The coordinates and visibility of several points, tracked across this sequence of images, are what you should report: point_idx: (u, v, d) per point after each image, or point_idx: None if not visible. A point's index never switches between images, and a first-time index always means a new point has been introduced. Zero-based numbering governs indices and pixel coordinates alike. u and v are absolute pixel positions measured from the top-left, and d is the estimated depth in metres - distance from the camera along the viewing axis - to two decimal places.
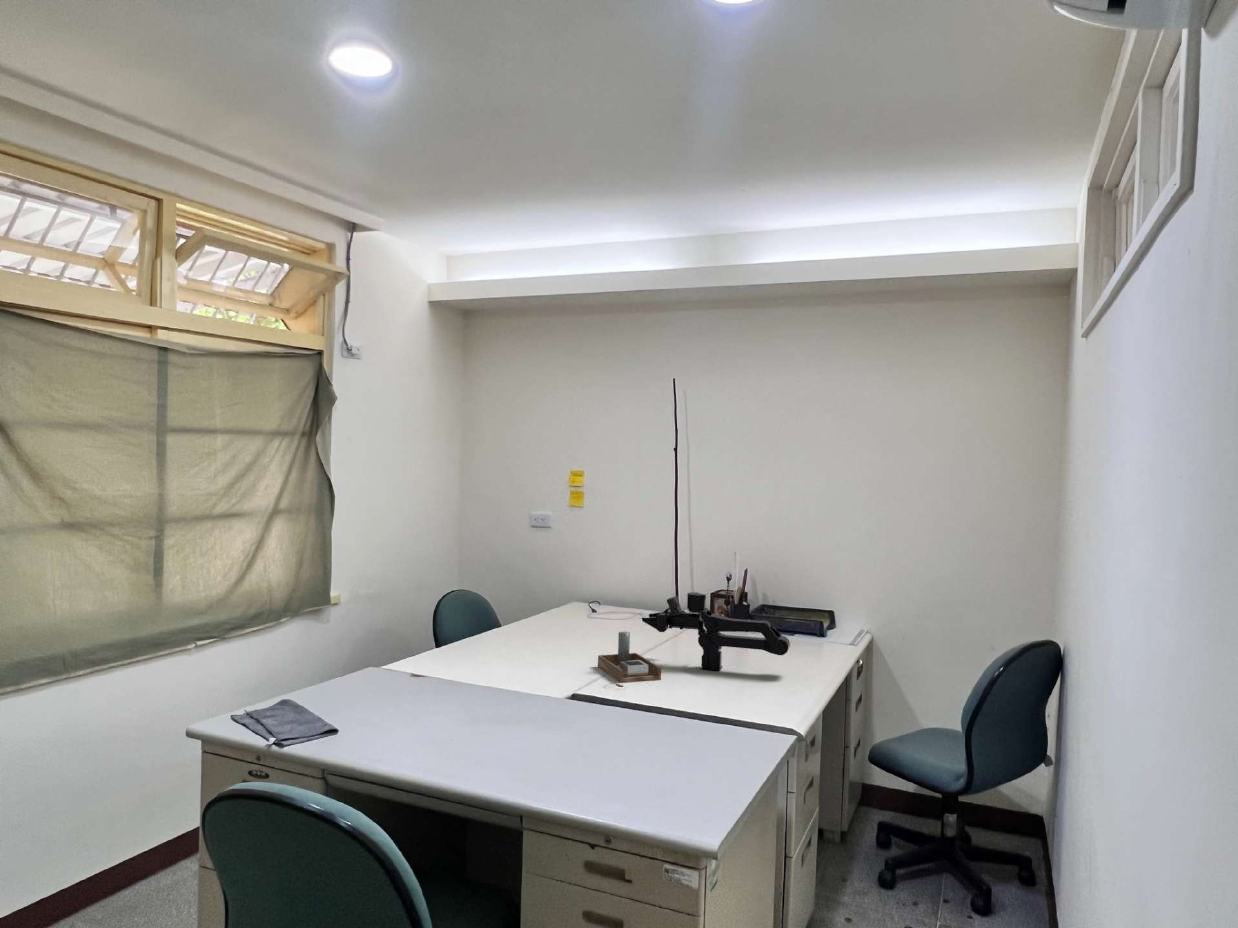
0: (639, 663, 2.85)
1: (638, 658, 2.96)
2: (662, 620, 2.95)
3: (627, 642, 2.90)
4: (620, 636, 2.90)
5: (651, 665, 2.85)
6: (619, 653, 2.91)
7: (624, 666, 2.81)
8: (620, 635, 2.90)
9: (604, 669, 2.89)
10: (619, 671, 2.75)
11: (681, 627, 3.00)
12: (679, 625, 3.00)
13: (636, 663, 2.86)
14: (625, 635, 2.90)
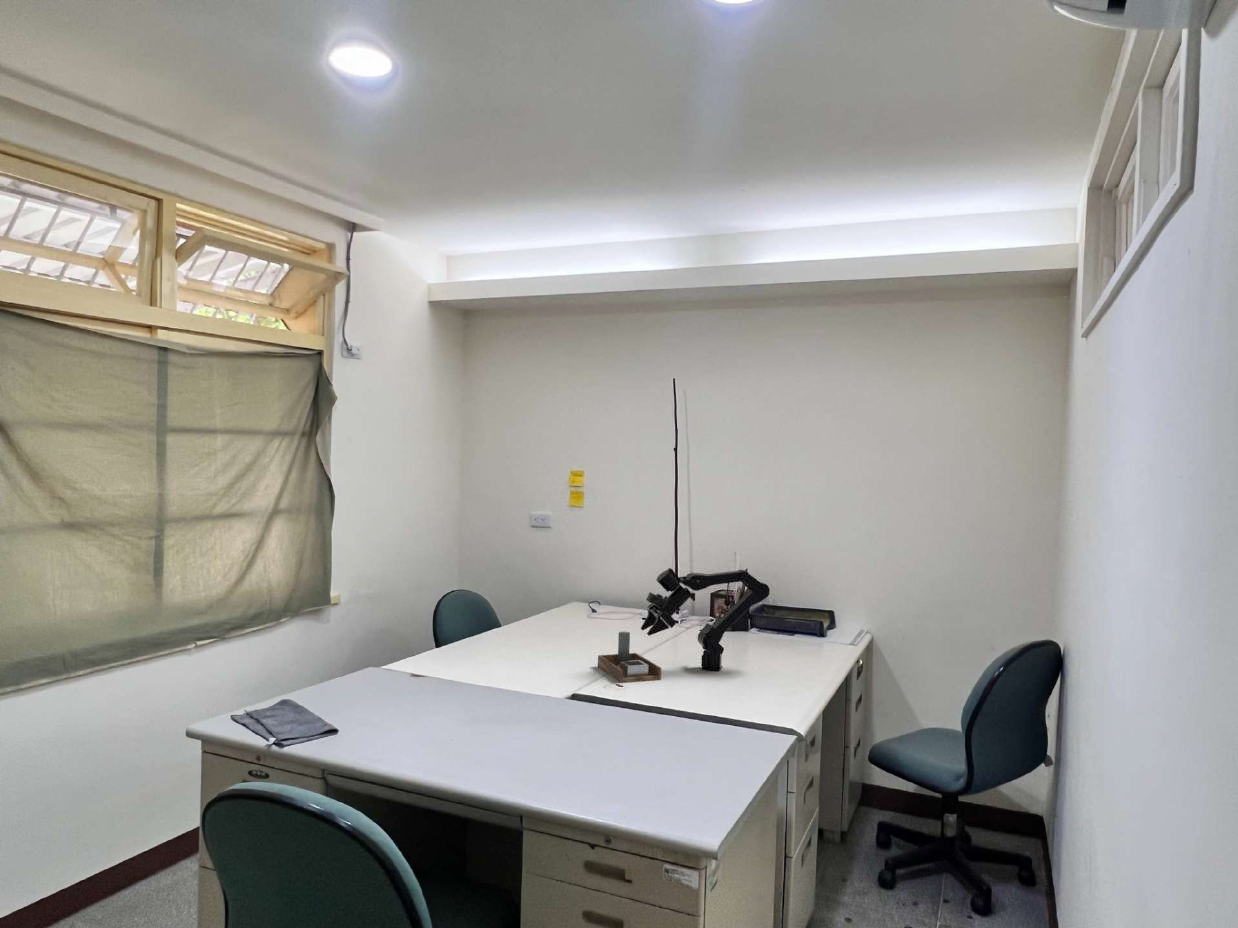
0: (639, 663, 2.85)
1: (638, 658, 2.96)
2: (667, 617, 2.86)
3: (627, 642, 2.90)
4: (620, 636, 2.90)
5: (651, 665, 2.85)
6: (619, 653, 2.91)
7: (624, 666, 2.81)
8: (620, 635, 2.90)
9: (604, 669, 2.89)
10: (619, 671, 2.75)
11: (678, 608, 2.94)
12: (675, 609, 2.94)
13: (636, 663, 2.86)
14: (625, 635, 2.90)
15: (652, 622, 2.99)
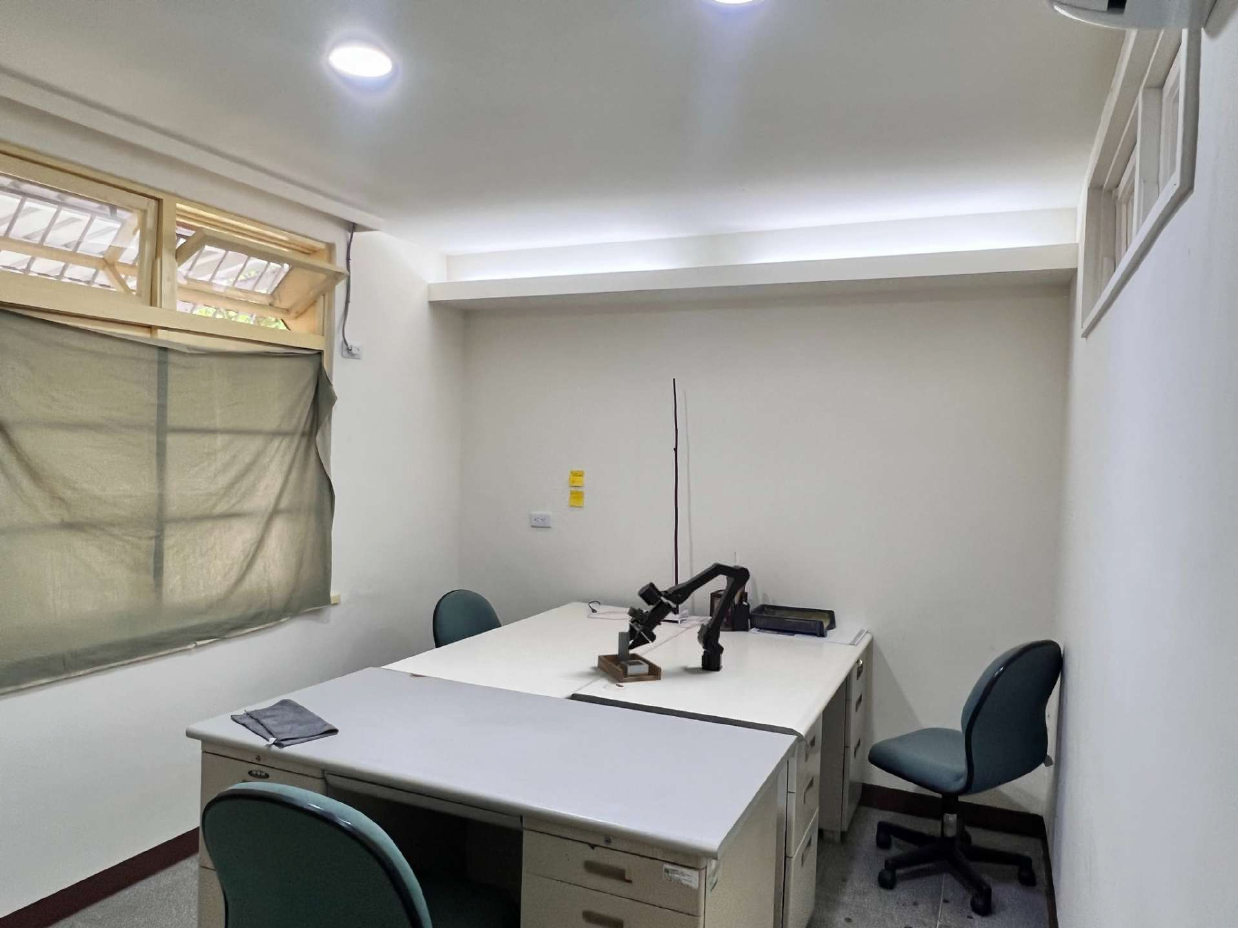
0: (639, 663, 2.85)
1: (638, 658, 2.96)
2: (647, 632, 2.84)
3: (627, 642, 2.90)
4: (620, 636, 2.90)
5: (651, 665, 2.85)
6: (619, 653, 2.91)
7: (624, 666, 2.81)
8: (620, 635, 2.90)
9: (604, 669, 2.89)
10: (619, 671, 2.75)
11: (659, 623, 2.92)
12: (656, 623, 2.92)
13: (636, 663, 2.86)
14: (625, 635, 2.90)
15: (633, 636, 2.98)
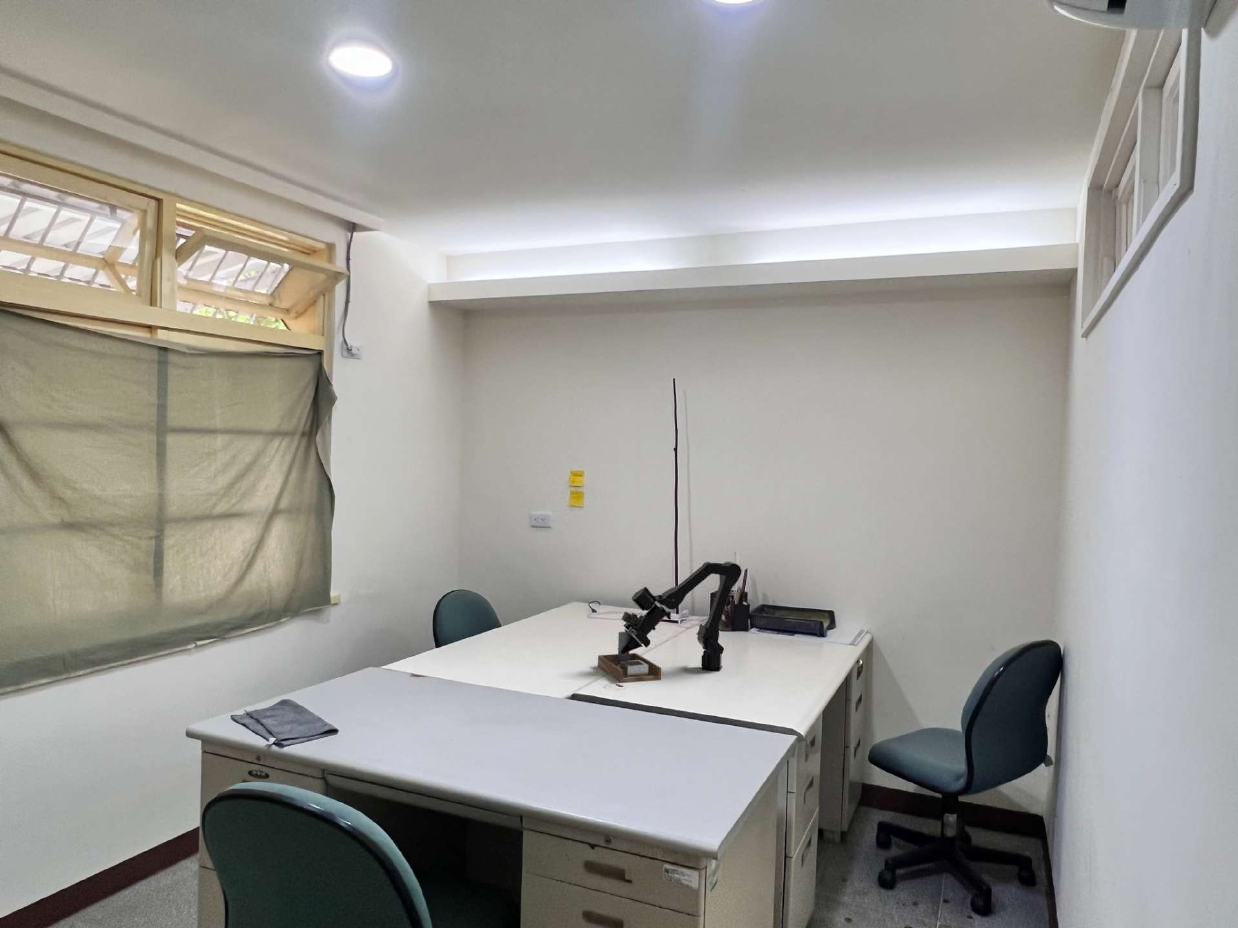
0: (639, 663, 2.85)
1: (638, 658, 2.96)
2: (641, 637, 2.84)
3: None
4: (620, 636, 2.90)
5: (651, 665, 2.85)
6: (619, 653, 2.91)
7: (624, 666, 2.81)
8: (620, 635, 2.90)
9: (604, 669, 2.89)
10: (619, 671, 2.75)
11: (653, 628, 2.92)
12: (651, 628, 2.92)
13: (636, 663, 2.86)
14: (625, 635, 2.90)
15: None
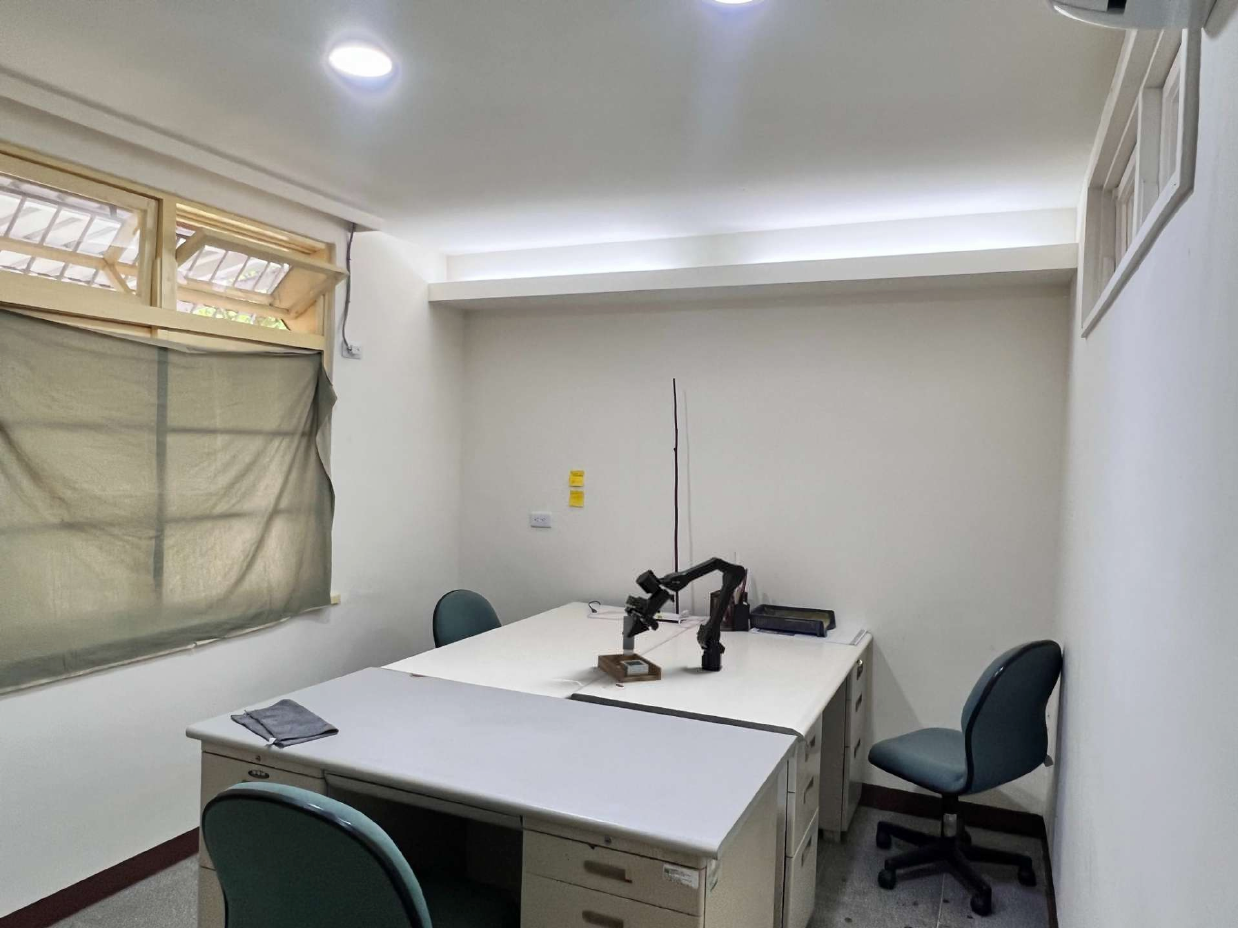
0: (639, 663, 2.85)
1: (638, 658, 2.96)
2: (650, 620, 2.80)
3: None
4: (626, 620, 2.85)
5: (651, 665, 2.85)
6: (625, 637, 2.85)
7: (624, 666, 2.81)
8: (626, 619, 2.85)
9: (604, 669, 2.89)
10: (619, 671, 2.75)
11: (658, 611, 2.88)
12: (656, 611, 2.88)
13: (636, 663, 2.86)
14: (631, 619, 2.85)
15: None
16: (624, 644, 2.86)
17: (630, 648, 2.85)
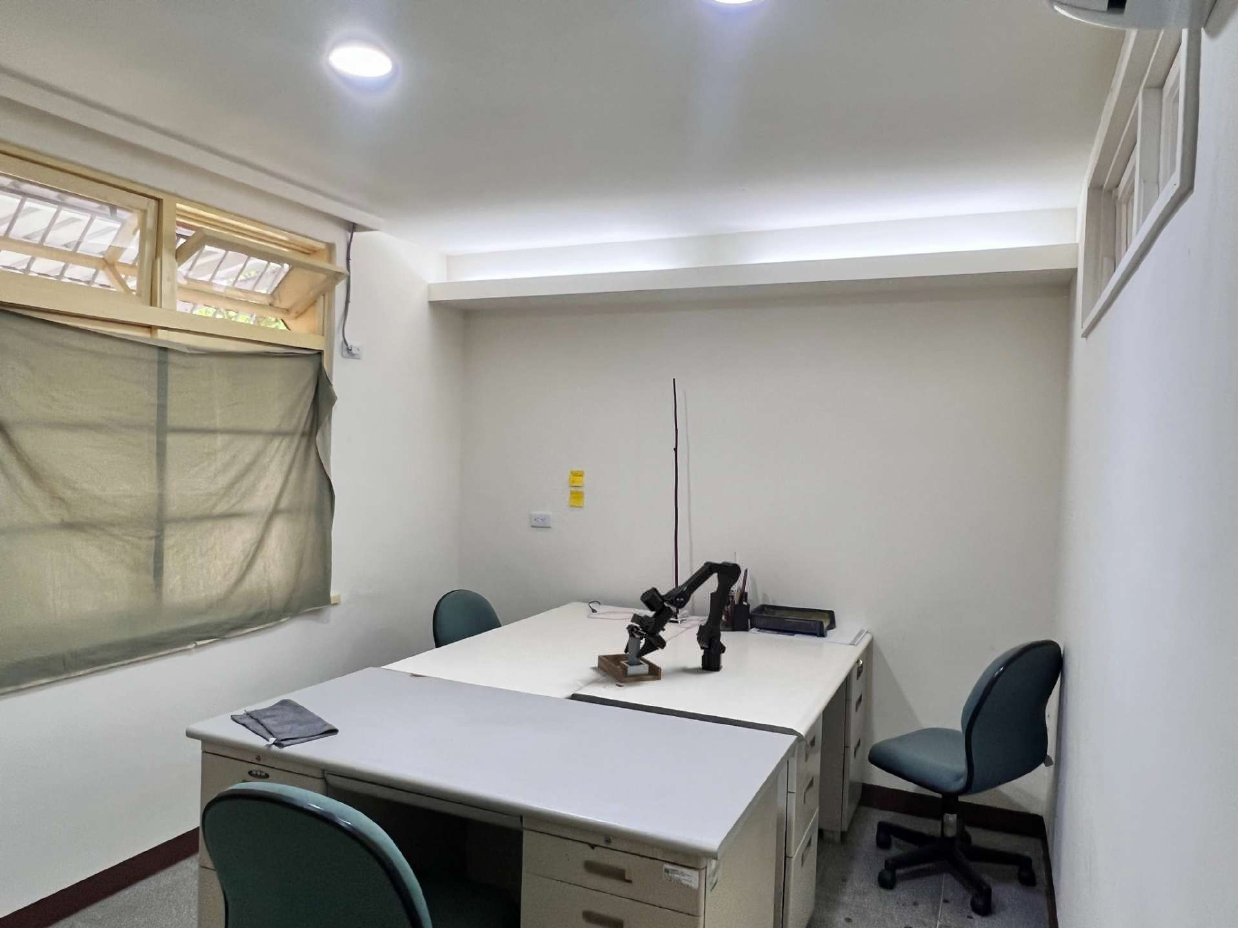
0: None
1: None
2: (659, 639, 2.77)
3: (639, 648, 2.82)
4: (632, 642, 2.81)
5: (651, 665, 2.85)
6: (631, 660, 2.81)
7: (624, 666, 2.81)
8: (632, 641, 2.81)
9: (604, 669, 2.89)
10: (619, 671, 2.75)
11: (663, 628, 2.86)
12: (661, 629, 2.85)
13: None
14: (637, 641, 2.81)
15: None
16: None
17: None
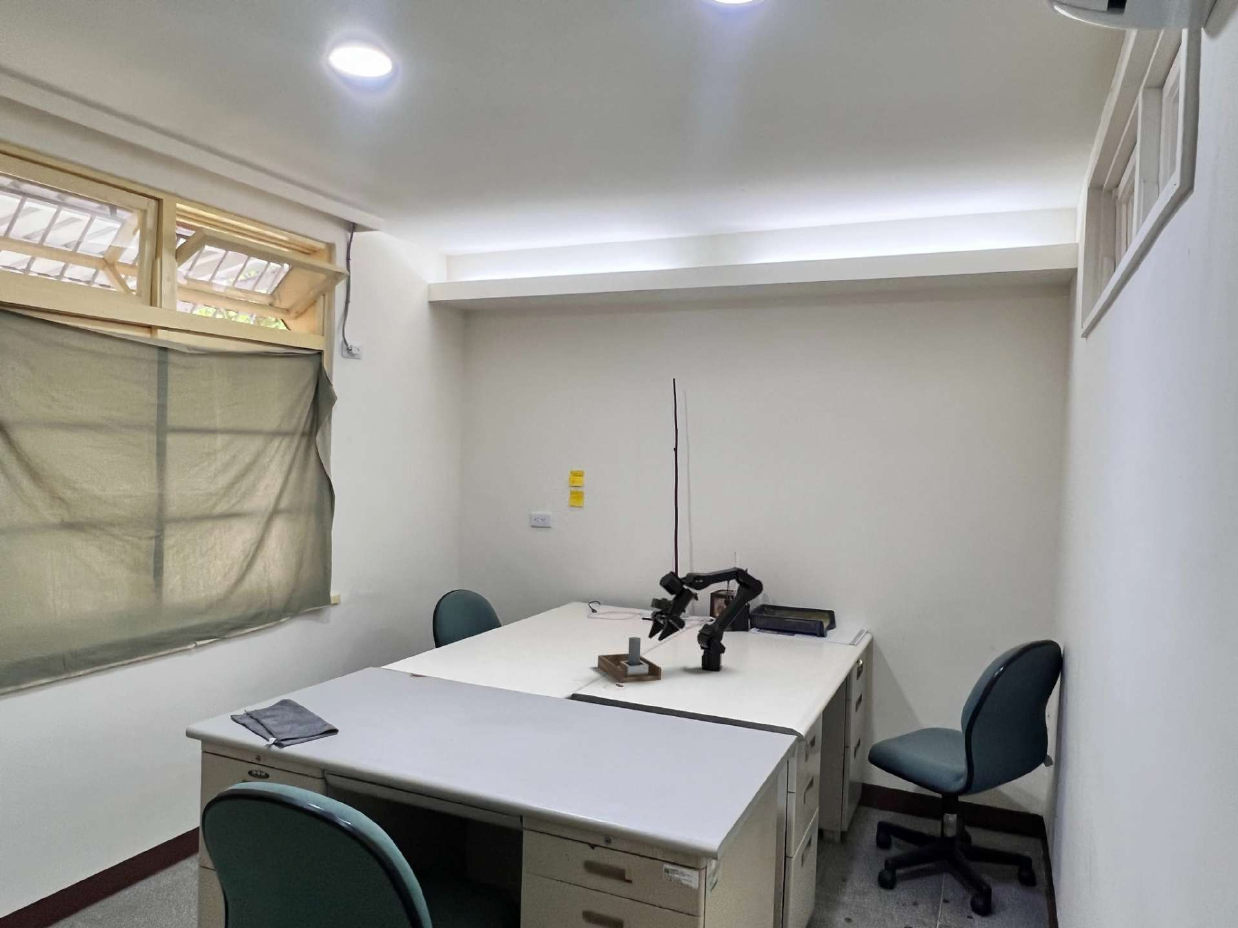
0: None
1: None
2: (676, 619, 2.82)
3: (639, 648, 2.82)
4: (632, 642, 2.81)
5: (651, 665, 2.85)
6: (631, 660, 2.81)
7: (624, 666, 2.81)
8: (632, 641, 2.81)
9: (604, 669, 2.89)
10: (619, 671, 2.75)
11: (684, 610, 2.90)
12: (681, 611, 2.90)
13: None
14: (637, 641, 2.81)
15: (658, 629, 2.94)
16: None
17: None
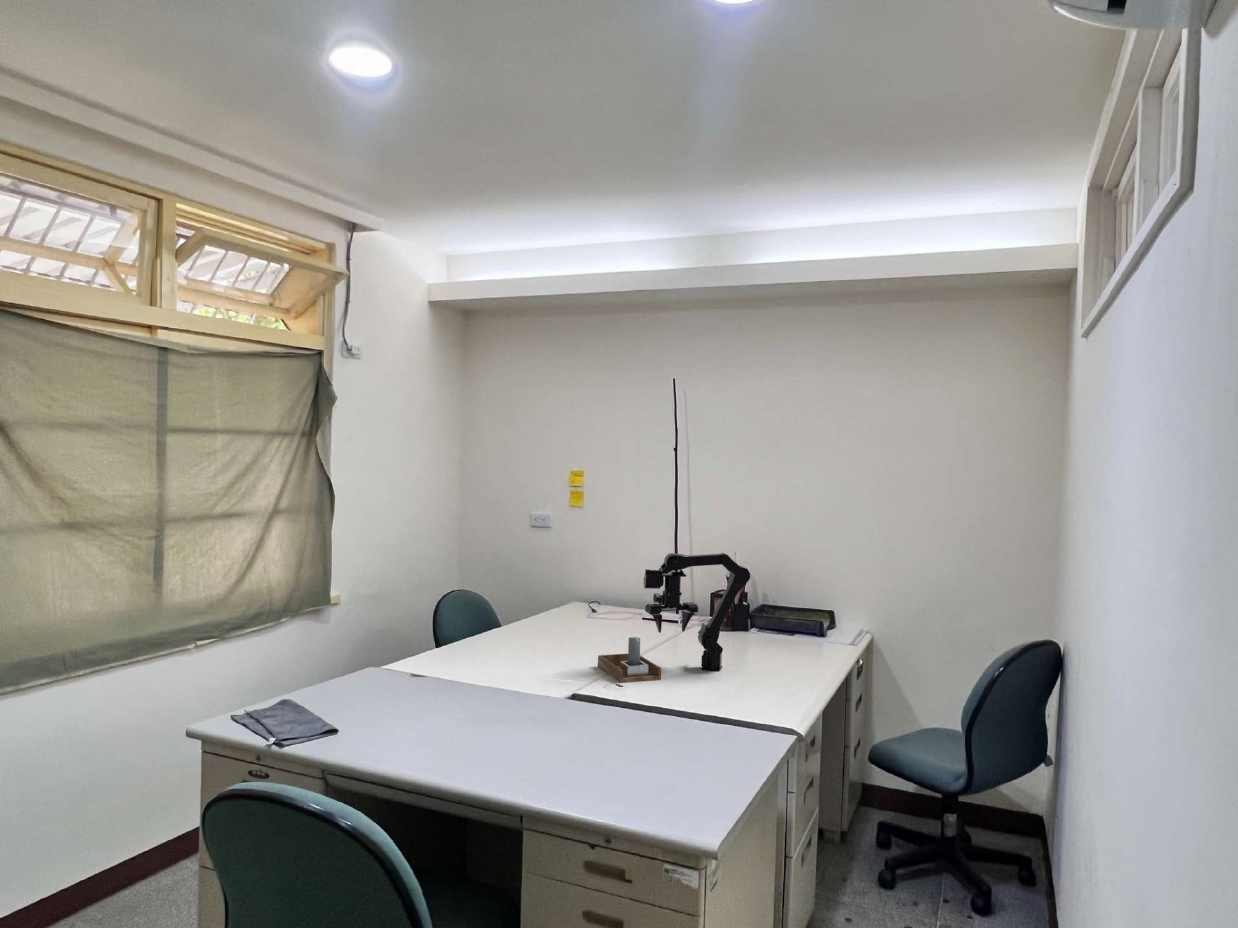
0: None
1: None
2: (647, 608, 2.95)
3: (639, 648, 2.82)
4: (632, 642, 2.81)
5: (651, 665, 2.85)
6: (630, 660, 2.81)
7: (624, 666, 2.81)
8: (632, 641, 2.81)
9: (604, 669, 2.89)
10: (619, 671, 2.75)
11: (668, 593, 2.95)
12: (667, 595, 2.95)
13: None
14: (637, 641, 2.81)
15: (685, 619, 2.98)
16: None
17: None
